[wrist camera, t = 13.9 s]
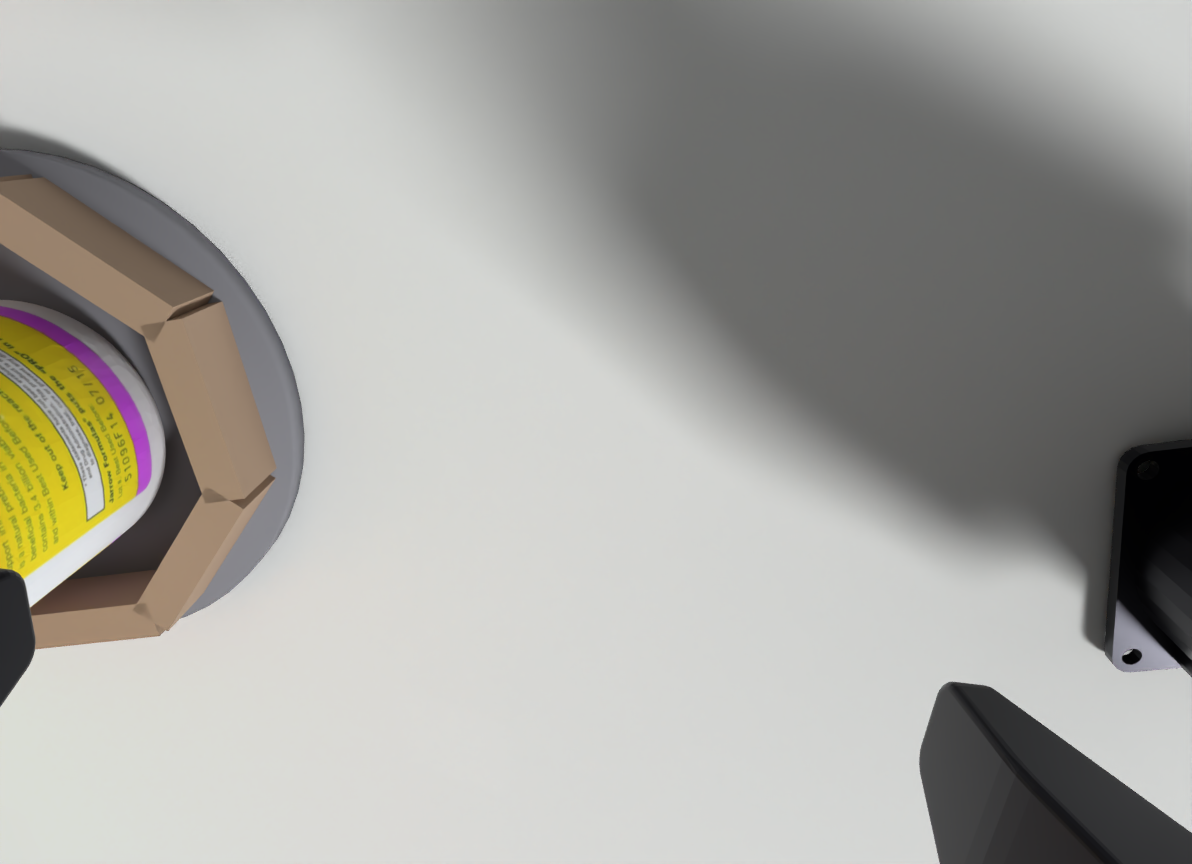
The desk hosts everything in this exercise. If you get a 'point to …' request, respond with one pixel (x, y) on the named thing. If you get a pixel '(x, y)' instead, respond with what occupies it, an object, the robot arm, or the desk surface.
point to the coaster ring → (159, 391)
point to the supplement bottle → (69, 445)
